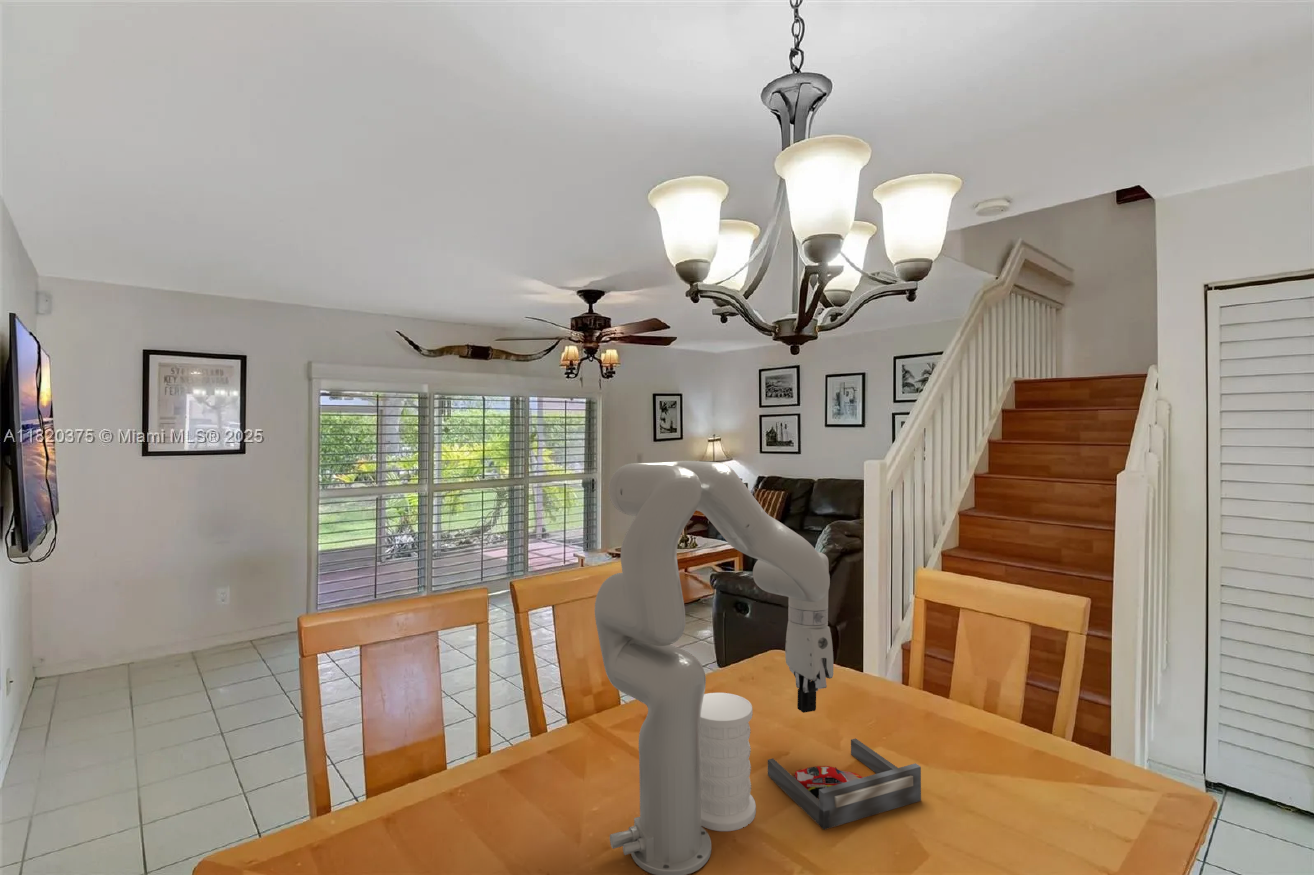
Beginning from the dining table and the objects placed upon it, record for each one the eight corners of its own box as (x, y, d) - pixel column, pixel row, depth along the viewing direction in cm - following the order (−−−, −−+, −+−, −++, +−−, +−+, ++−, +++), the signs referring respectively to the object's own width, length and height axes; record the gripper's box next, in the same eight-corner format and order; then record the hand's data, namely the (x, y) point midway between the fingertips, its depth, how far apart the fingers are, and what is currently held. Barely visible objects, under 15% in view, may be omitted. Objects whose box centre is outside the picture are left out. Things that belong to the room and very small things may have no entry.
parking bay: (825, 831, 101) (825, 795, 101) (767, 775, 118) (767, 743, 117) (923, 802, 108) (922, 768, 108) (855, 753, 125) (855, 723, 125)
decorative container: (677, 798, 111) (676, 698, 110) (735, 784, 115) (734, 687, 114) (705, 838, 100) (704, 727, 99) (768, 821, 104) (767, 714, 104)
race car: (863, 784, 115) (863, 762, 115) (872, 802, 109) (871, 779, 109) (791, 782, 116) (790, 761, 115) (796, 800, 110) (796, 777, 110)
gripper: (848, 624, 116) (847, 723, 116) (802, 604, 130) (800, 693, 130) (814, 628, 113) (813, 729, 113) (770, 607, 127) (769, 698, 127)
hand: (806, 710), depth 121 cm, fingers closed
